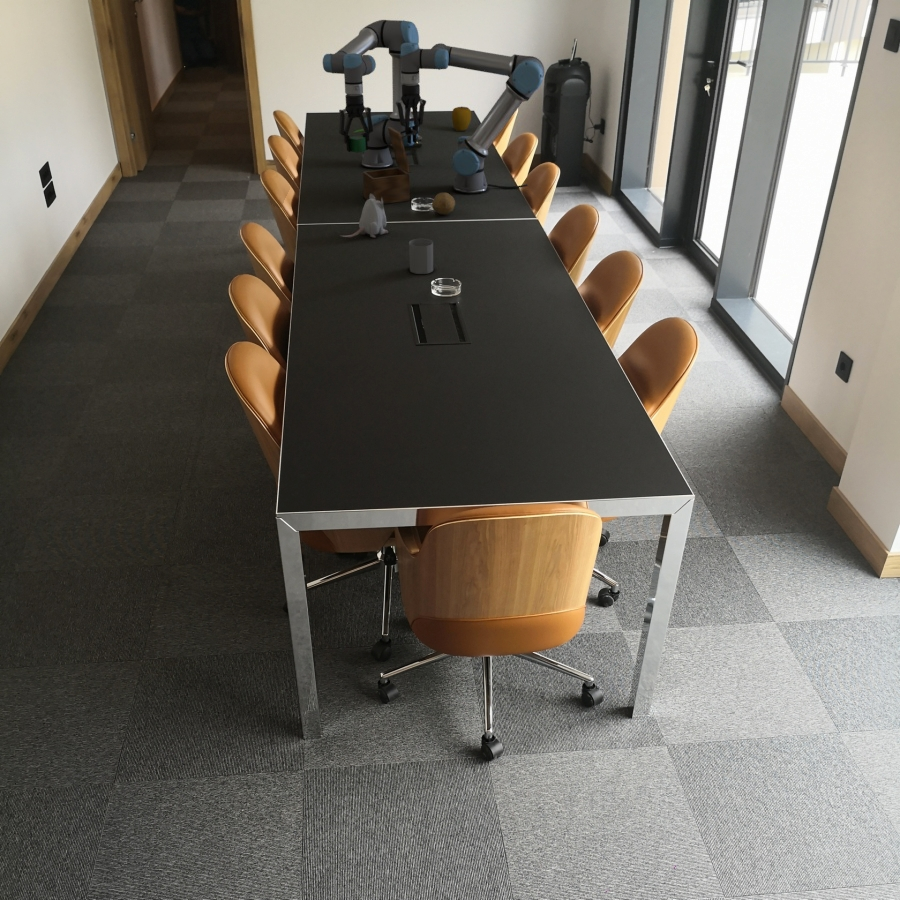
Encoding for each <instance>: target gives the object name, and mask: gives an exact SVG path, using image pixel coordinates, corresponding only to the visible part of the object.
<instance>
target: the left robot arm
mask: <svg viewBox="0 0 900 900" xmlns="http://www.w3.org/2000/svg"><path fill="white" fill-rule="evenodd" d="M418 31H419V30H418V28H417V26H416V24H415V23H414V22H413V21H409V20H405V19H403V20H398V19H397V20H394V19H393V20H392V19H379V20H376V21H373V22H372V23H370V24H368V25H366V26H364V27H363V28H361V29H360V31H359V32H358V35H357V36H355V37H354V38H353V39H352V40H350V41H349V42H348V43H347V44H345V45H344V46H343V47H341V48H340V49H339V50H337V51H336V52H335V53H325V54H324V55H323V57H322V68H323V70H324V72H326V73H329V74H338V75H340V74H341V75H343V76H344V77H343V78H344V93H345V107H344V108H343V109H339V111H338V113H339V128H338V129H339V130H338V131H339V132H338V133H339V134H340V135H341V136H343V142H344V144H345V145H346V152H348V153H351V151H350V137H351V136H350V135H349V133H350V129H351V125H352V121H353V120H354V119H355V118H358V119H359V121H360V124H361V126H362V127H363V128H362V129H364V131H363V133H362V134H363V135H362V137H363V136H364V137H365V138H366V151H363V153H361V157H362V159H361V166H362V167H363V168H366V169H371V170H383V169H389V168H390V167H392V166H394V161H393V159H394V160H396V158H395V156H392V155H391V152H390V151H391V150H390V147H389V146H392V142H391V138H390V134H389V130H388V127H391V128H393V129H395V130H397V131H398V132H401V131H404V130H405V127H404V126H402V125H401V124H400V118H399V112H398V107H397V105H396V102H399V101H400V100H401V97H402V83H401V57H400V55H401V45H402V44H403V43H418V44H419V43H420V36H419V32H418ZM378 48H379V49H380V48H381V49H388V54H389V55H390V56H391V69H392V70H391V71H392V73H391V75H392V77H391V78H392V79H391V81H392V83H391V85H392V113H390V114H389V117H388V115H387V114H373V115H372V114H371V113H372V108H371V107H370V106H367V107H365V105H364V104H365V101H364V85H363V83H364V82H363V77H364V76H367V75H368V76H369V75H371V74H372V73H374V71H375V70H376V66H377V64H376V60H375V58H374V57H373V56H372V55H371V54H366V53H367V52H368V51H373V50H375V49H378ZM402 108H403V114H404V120H405V105H404V104H403V103H402ZM364 112H365V118H364V115H363V114H364ZM346 114H347V119H346V120H345V118H346V117H345V116H346ZM345 121H346V122H345ZM412 126H414V120H413V112H412V109H411V110H410V122H409V127H411V129H412ZM419 129H420V126H419V127H418V134H417V138H418V136H419ZM404 135H406V134H405V133H402V134H401V137H402V136H404ZM402 141H403V145H404V147H413V145H414V144H415V143H414V142H413V135H411V144H410V143H408V142H407V137H405V138H402ZM405 153H406V156H407V155H412V151H408V152H405Z"/></svg>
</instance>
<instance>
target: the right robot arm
mask: <svg viewBox="0 0 900 900" xmlns="http://www.w3.org/2000/svg"><path fill="white" fill-rule="evenodd" d="M400 57H401V83H402V97H401V100H400V101H399V102H396V105H397V107H398V112H399V118H400V124H401V125H402V126H404V127H405V134H406V135H407V134H410V133H411V127H409V122H410V110H411V111H412V115H413V120H414V126H412V129H413V130H415V131H417V134H418V135H419V132H418V127H419V128H420V126H421V125H423V123H424V115H425V114H424V113H425V106H426V104H427V100H426V99H423V98H421V87H420V84H419V83H421V82H420V81H421V80H420V70H438V71H440V70H447V69H448V67H453V68H459V69H466V70H470V71H477V72H482V73H488V74H494V75H500V76H506V77H508V79H507V80H506V81H505V89H504V91H503V92H502V93H501V95H500V96H499V98H498V99H497V100H496V102H495V103H494V105H493V106H492V107H491V108H490V110H489V111H488V113H487V114H486V116H485V117H484V118H483V120H482V121H481V123H480V124H479V125H478V126H477V128H476V130H475V131H474V132H473V134H472V135H464V136H463V135H462V136H459V137H458V138H457V150H456V151H455V153H453V155H452V160H451V162H452V163H451V164H452V167H453V170H454V171H455V173H456V176H455V178H454V182H453V191H455V192H457V193H460V194H467V195H475V194H482V193H485V192H487V191H488V187H493V188H497V189H498V188H499V189H519V188H525V187H528V184H527V183H526V184H522V185H514V186H513V185H512V186H510V185H509V186H506V185H505V186H503V185H497V184H492V183H491V184H490V183H488V182H487V178H486V175H485V170H484V169H485V159H486V158H487V157H488V155H489V148H490V147H491V146H492V145H493V142H495V140H496V139H497V137H498V136H499V135H500V133H501V132H502V130H503V129H504V128H505V126H506V125H507V124H508V123H509V121H510V119H511V118H512V117H513V116H514V114H515V113H516V111H517V110H518V109H519V108H520V106H521V104H522V103H524V102H528V101H529V100H530V99H531V97H532V96H533V95H534V93H535V92H536V91H538V89H539V88H540V87H541V85H542V84H543V79H544V76H545V67H544V64H543V62H542V61H541V60H540V59H539V58H538V57H536V56H534V55H533V56H532V55H521V54H515V53H514V54H512V55H506V54H505V55H504V54H499V53H492V52H486V51H480V50H475V49H468V48H462V47H456V46H450V45H446V44H445V43H443V42H439V43H436V44H434V45H433V46H432V47H431V48H420V45H419V43H403V44H402V45H401V55H400ZM402 103H403V104H404V105H405V120H404V114H403V108H402ZM417 134H416V135H413V142H414V144H417V143H418V137H417ZM407 142H408V143H410V144H411V135H410V136H408V137H407Z"/></svg>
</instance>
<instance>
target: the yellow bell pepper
mask: <svg viewBox="0 0 900 900" xmlns="http://www.w3.org/2000/svg"><path fill="white" fill-rule="evenodd" d="M451 121H452V125H453V128H454V129H455V131H457V132H463V131H466V130H467V129H468V128H469V126H470V124H471V121H472V111H471V108H469V107H467V106H462V105H461V106H457V107H454V108H452V111H451Z"/></svg>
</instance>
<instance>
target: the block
mask: <svg viewBox="0 0 900 900" xmlns="http://www.w3.org/2000/svg"><path fill="white" fill-rule="evenodd" d="M364 151H366V138H365V137H363V136H362V135H353V136H350V153H351V152H352V153H357V154H359V153H362V152H364Z"/></svg>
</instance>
